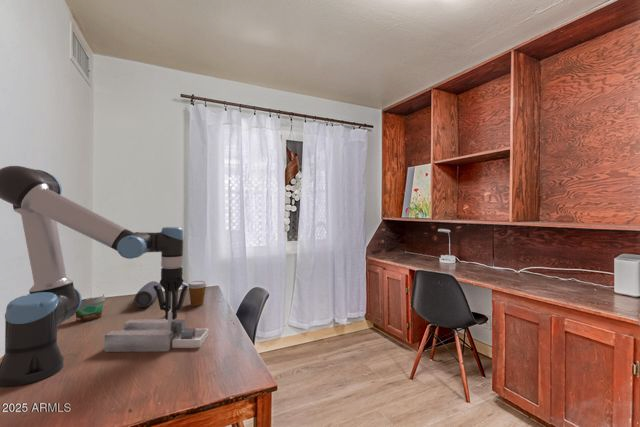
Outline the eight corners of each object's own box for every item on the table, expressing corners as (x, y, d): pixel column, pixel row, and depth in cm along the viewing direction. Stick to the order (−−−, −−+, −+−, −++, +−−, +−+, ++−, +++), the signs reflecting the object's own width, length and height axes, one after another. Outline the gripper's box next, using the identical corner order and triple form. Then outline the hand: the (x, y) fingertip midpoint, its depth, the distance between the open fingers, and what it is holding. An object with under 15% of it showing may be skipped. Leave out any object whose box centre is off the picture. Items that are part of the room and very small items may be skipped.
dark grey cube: (180, 342, 116) (191, 342, 116) (181, 332, 116) (192, 332, 116) (184, 338, 120) (194, 338, 120) (185, 328, 120) (195, 328, 120)
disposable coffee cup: (187, 303, 168) (187, 281, 168) (205, 301, 172) (206, 280, 172) (187, 308, 159) (188, 285, 159) (206, 306, 163) (207, 283, 163)
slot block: (167, 351, 110) (168, 334, 110) (104, 351, 109) (104, 335, 109) (184, 333, 126) (184, 319, 126) (129, 334, 125) (129, 319, 125)
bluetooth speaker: (144, 297, 176) (144, 280, 176) (161, 296, 179) (162, 279, 179) (132, 310, 154) (133, 290, 154) (153, 308, 157) (153, 289, 157)
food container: (76, 325, 133) (77, 302, 133) (72, 321, 137) (72, 299, 137) (109, 317, 143) (109, 296, 143) (104, 314, 147) (104, 294, 147)
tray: (199, 347, 113) (200, 339, 113) (172, 348, 113) (172, 340, 113) (208, 335, 124) (208, 328, 124) (183, 336, 124) (183, 328, 124)
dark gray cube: (181, 333, 116) (181, 323, 116) (170, 333, 116) (170, 323, 116) (185, 329, 120) (185, 319, 120) (174, 329, 120) (175, 319, 120)
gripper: (192, 265, 122) (191, 323, 122) (159, 265, 121) (158, 324, 121) (185, 268, 115) (184, 331, 115) (149, 268, 114) (148, 331, 114)
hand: (171, 327), depth 118 cm, fingers closed
